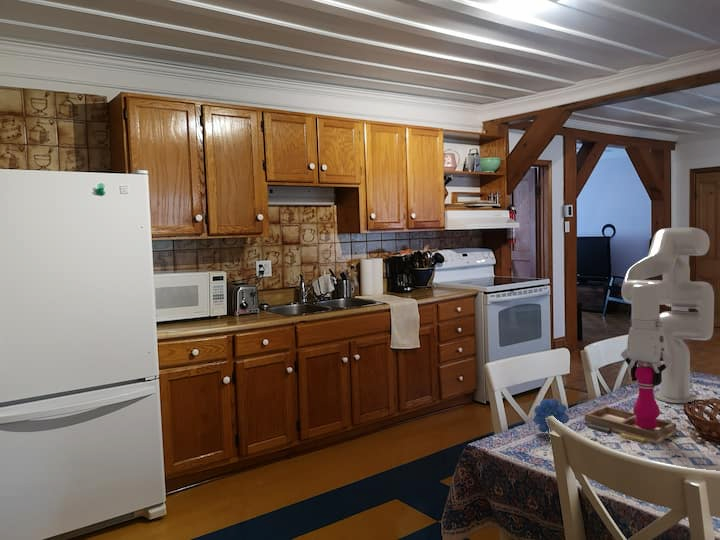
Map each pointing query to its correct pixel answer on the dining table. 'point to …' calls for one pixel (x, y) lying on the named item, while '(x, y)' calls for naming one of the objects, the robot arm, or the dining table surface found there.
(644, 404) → the pepper mill
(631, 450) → the dining table surface
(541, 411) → the grapes
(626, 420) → the board
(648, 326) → the robot arm
